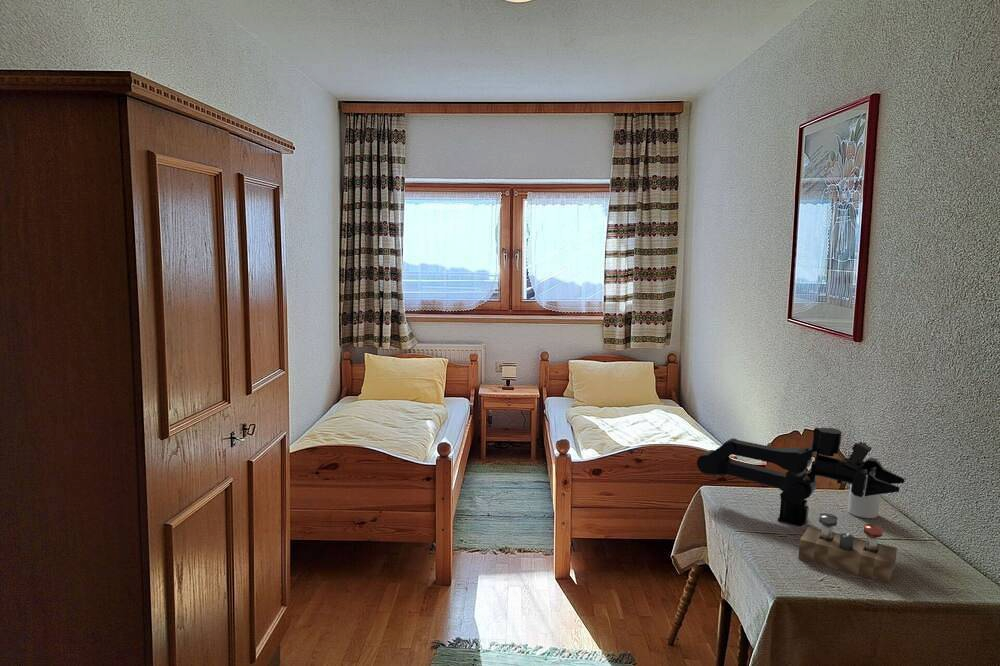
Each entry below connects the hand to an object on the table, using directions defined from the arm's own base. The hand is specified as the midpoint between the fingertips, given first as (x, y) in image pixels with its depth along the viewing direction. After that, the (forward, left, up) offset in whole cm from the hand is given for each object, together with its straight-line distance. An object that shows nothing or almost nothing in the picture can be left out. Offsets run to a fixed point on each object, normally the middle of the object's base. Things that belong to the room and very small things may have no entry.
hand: (901, 485), depth 187 cm
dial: (-8, -21, -12) cm, 26 cm away
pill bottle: (-10, +20, -17) cm, 28 cm away
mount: (-8, -18, -17) cm, 26 cm away
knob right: (-3, -18, -13) cm, 23 cm away
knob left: (-13, -18, -13) cm, 26 cm away
